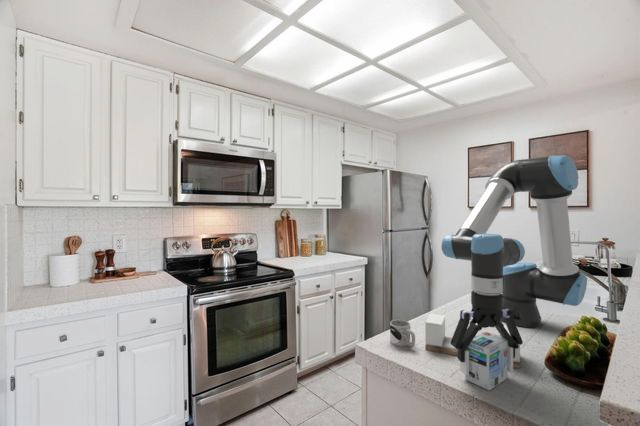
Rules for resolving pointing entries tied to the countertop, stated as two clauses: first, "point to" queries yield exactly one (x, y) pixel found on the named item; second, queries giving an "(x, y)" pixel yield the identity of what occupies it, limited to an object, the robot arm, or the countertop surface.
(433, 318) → the mounted modules
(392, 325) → the mug
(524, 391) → the countertop surface
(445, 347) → the rail board
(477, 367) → the light bulb box
